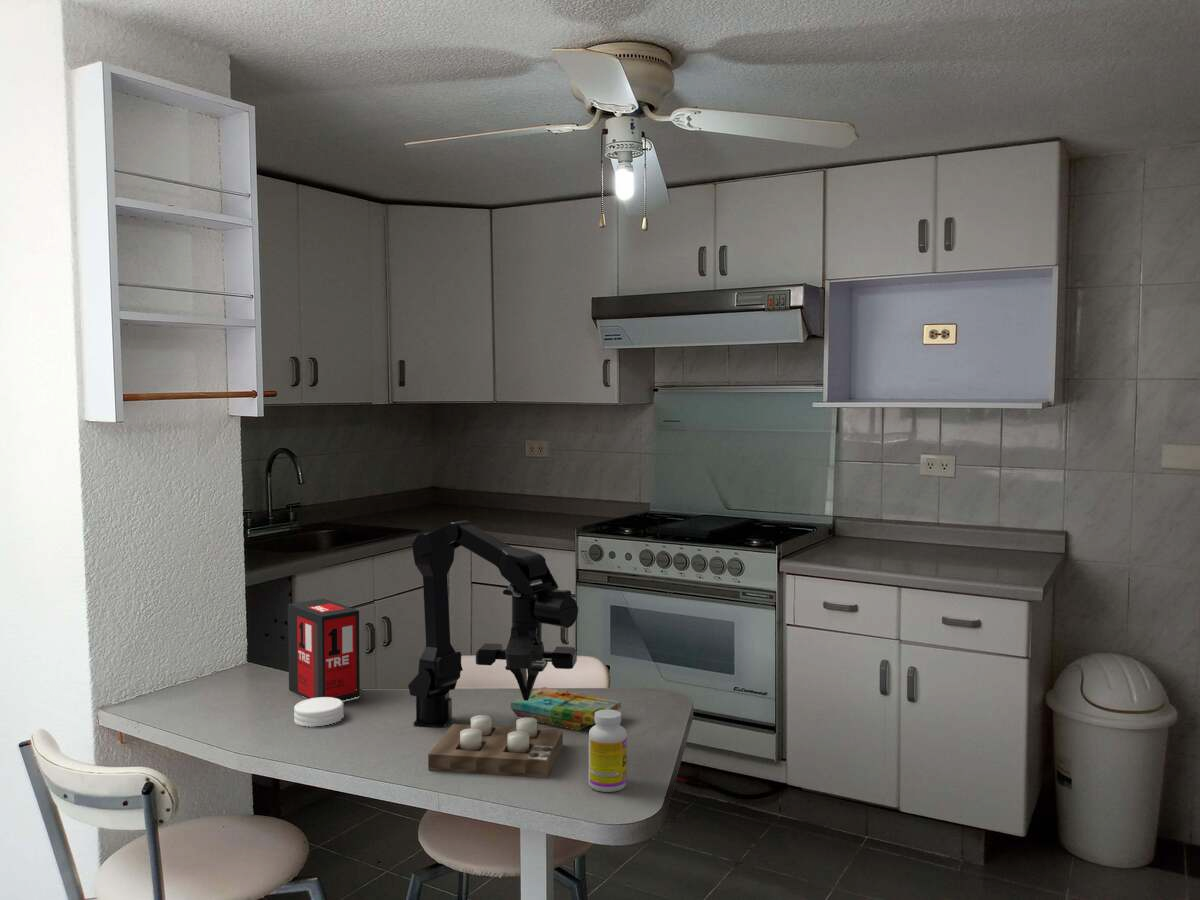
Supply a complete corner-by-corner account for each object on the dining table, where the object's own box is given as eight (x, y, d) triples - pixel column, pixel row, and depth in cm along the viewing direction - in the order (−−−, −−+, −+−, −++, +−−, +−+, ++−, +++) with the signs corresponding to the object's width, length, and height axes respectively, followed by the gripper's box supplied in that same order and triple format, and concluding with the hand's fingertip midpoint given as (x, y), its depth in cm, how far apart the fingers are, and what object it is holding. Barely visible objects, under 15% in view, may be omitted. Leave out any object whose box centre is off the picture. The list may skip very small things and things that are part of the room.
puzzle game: (541, 683, 210) (621, 698, 200) (541, 704, 210) (620, 720, 200) (511, 698, 199) (593, 714, 190) (510, 720, 200) (593, 737, 190)
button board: (428, 770, 172) (428, 752, 172) (453, 738, 188) (453, 722, 188) (547, 777, 169) (547, 759, 169) (562, 744, 185) (562, 728, 185)
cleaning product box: (288, 690, 218) (287, 604, 217) (324, 682, 224) (323, 598, 223) (322, 707, 206) (322, 616, 205) (359, 698, 212) (359, 610, 211)
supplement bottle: (628, 793, 163) (628, 719, 162) (589, 794, 162) (590, 720, 161) (624, 777, 169) (624, 706, 169) (587, 778, 169) (587, 707, 168)
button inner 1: (468, 735, 182) (468, 721, 182) (473, 728, 186) (473, 714, 186) (488, 736, 181) (488, 722, 181) (493, 729, 185) (493, 715, 185)
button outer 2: (505, 752, 173) (505, 738, 173) (510, 744, 177) (510, 730, 177) (526, 753, 173) (526, 739, 173) (531, 745, 177) (531, 731, 177)
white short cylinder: (297, 731, 192) (296, 714, 192) (291, 716, 201) (291, 699, 201) (347, 724, 196) (347, 707, 196) (339, 709, 205) (339, 693, 205)
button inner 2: (514, 737, 181) (514, 724, 181) (518, 730, 185) (518, 717, 184) (534, 739, 180) (534, 725, 180) (538, 731, 184) (539, 718, 184)
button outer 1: (457, 749, 174) (457, 735, 174) (463, 742, 178) (463, 727, 178) (478, 751, 174) (478, 736, 174) (484, 743, 178) (484, 729, 178)
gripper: (468, 628, 174) (467, 711, 175) (568, 632, 172) (567, 716, 173) (483, 614, 185) (483, 692, 186) (577, 617, 183) (576, 697, 184)
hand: (526, 700), depth 182 cm, fingers closed
